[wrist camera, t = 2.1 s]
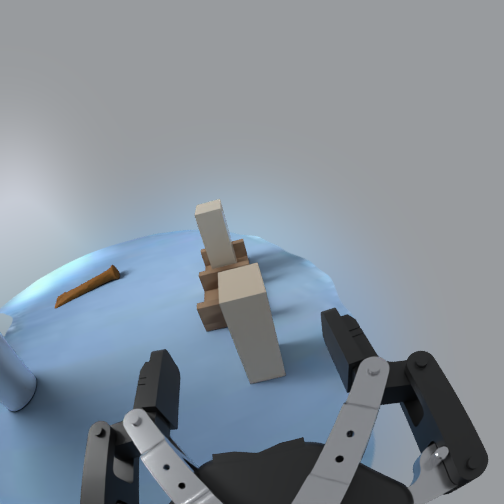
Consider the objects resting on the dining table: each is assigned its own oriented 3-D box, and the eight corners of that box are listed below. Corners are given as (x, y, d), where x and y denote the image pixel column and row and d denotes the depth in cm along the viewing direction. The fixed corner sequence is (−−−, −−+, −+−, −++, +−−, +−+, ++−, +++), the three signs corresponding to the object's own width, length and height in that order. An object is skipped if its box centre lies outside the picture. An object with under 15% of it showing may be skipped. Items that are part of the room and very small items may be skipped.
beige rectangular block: (250, 383, 28) (219, 303, 23) (245, 352, 33) (217, 272, 27) (285, 375, 28) (266, 291, 23) (277, 344, 33) (257, 262, 27)
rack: (206, 331, 38) (196, 309, 36) (207, 268, 53) (201, 249, 51) (262, 318, 38) (256, 294, 36) (248, 258, 53) (243, 238, 51)
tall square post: (216, 281, 46) (194, 215, 41) (215, 266, 51) (196, 205, 45) (239, 275, 46) (220, 208, 41) (237, 261, 51) (220, 199, 45)
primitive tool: (55, 310, 52) (47, 298, 50) (58, 299, 56) (51, 287, 55) (121, 280, 58) (115, 267, 56) (121, 271, 62) (115, 258, 61)
